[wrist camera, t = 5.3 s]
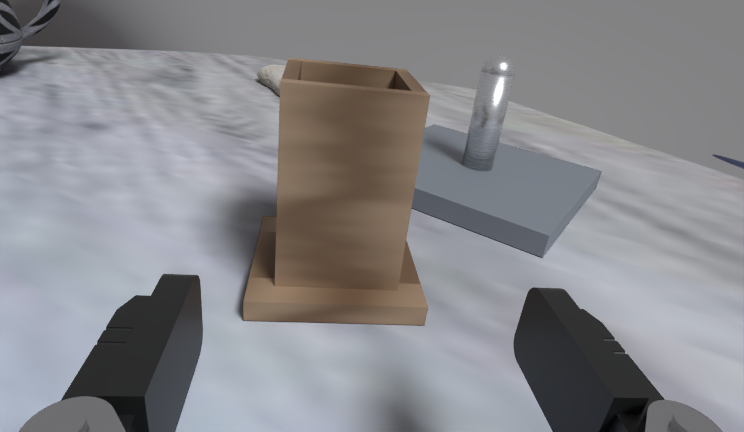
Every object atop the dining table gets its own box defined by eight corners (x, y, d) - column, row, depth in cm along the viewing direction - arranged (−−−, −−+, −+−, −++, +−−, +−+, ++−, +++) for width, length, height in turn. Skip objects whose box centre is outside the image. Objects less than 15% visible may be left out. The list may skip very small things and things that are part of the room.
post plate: (333, 178, 36) (345, 40, 32) (431, 139, 48) (450, 35, 44) (542, 257, 29) (595, 91, 24) (596, 187, 41) (637, 68, 37)
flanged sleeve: (243, 320, 21) (241, 85, 16) (263, 231, 28) (265, 51, 23) (424, 325, 22) (469, 106, 17) (398, 238, 29) (425, 67, 24)
